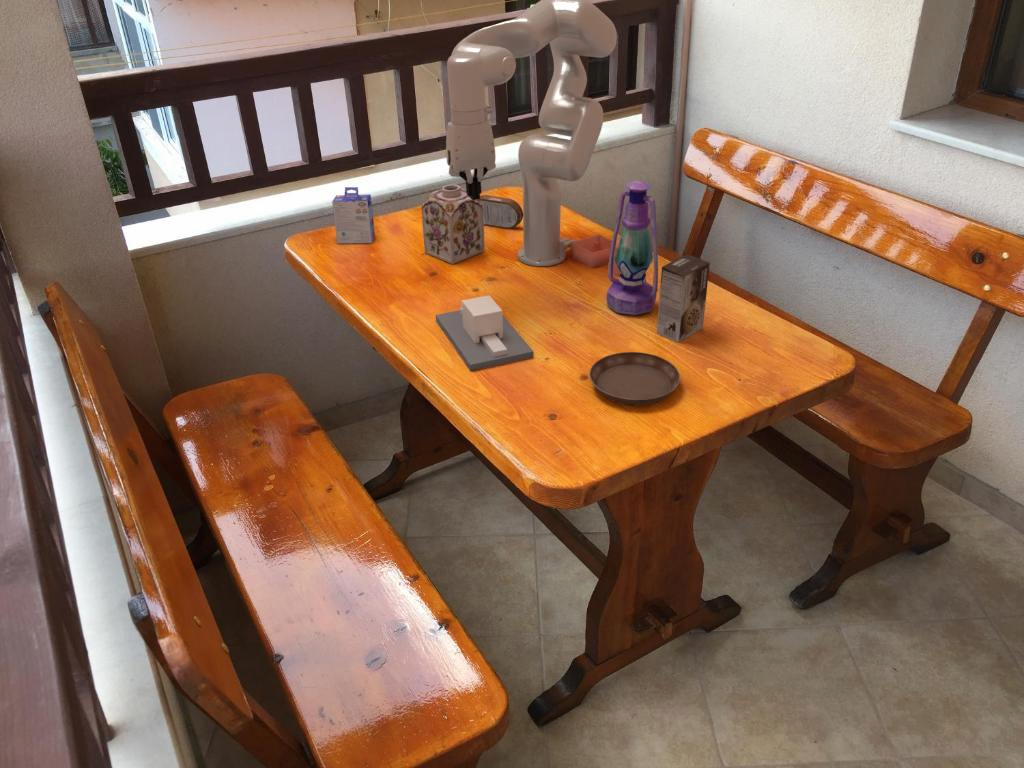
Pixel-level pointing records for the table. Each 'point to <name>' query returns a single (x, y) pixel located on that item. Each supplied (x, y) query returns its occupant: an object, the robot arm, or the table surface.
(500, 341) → the rail board
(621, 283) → the lantern
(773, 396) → the table surface
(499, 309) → the block
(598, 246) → the pottery
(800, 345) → the table surface
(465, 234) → the decorative jar
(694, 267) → the coffee box
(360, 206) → the ink cartridge box
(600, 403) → the table surface
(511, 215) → the tin
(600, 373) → the plant saucer
